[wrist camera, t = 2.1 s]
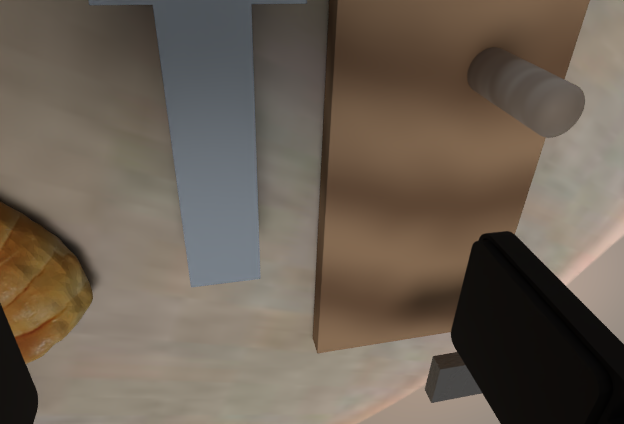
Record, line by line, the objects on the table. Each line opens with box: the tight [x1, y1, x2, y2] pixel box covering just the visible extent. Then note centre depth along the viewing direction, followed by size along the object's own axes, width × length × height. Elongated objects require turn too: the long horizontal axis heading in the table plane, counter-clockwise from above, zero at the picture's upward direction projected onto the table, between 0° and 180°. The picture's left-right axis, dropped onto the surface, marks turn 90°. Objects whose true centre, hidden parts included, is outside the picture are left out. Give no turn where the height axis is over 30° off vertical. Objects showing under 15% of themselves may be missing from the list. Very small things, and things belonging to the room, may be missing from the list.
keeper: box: [425, 352, 482, 403], centre depth 27 cm, size 2×7×7 cm, turn 88°
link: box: [88, 0, 307, 287], centre depth 18 cm, size 18×7×4 cm, turn 178°
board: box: [313, 0, 590, 353], centre depth 23 cm, size 21×11×6 cm, turn 178°
